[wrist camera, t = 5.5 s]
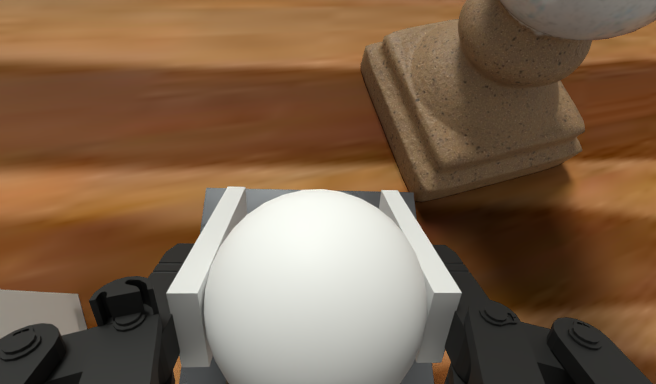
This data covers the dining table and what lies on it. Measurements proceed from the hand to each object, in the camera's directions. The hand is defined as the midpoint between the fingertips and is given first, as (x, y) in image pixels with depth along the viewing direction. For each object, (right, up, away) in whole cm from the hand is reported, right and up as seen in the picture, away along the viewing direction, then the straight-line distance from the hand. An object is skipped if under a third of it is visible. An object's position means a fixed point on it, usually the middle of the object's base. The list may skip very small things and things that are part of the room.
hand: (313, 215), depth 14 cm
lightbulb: (0, -5, +2) cm, 5 cm away
